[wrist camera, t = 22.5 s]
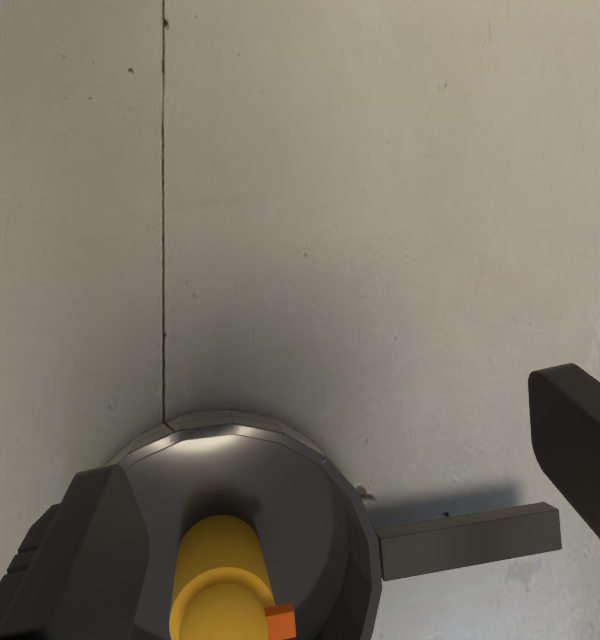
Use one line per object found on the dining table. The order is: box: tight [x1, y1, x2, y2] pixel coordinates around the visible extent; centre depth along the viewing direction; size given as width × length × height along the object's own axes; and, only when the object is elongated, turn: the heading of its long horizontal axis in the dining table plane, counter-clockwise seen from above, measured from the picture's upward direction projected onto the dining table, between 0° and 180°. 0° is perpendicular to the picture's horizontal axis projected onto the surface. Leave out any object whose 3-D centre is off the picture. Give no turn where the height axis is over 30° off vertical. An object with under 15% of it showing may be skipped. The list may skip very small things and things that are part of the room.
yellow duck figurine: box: [169, 515, 296, 640], centre depth 27 cm, size 6×5×10 cm
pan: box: [103, 410, 382, 640], centre depth 30 cm, size 17×17×5 cm
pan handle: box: [375, 502, 562, 581], centre depth 31 cm, size 11×2×1 cm, turn 95°
